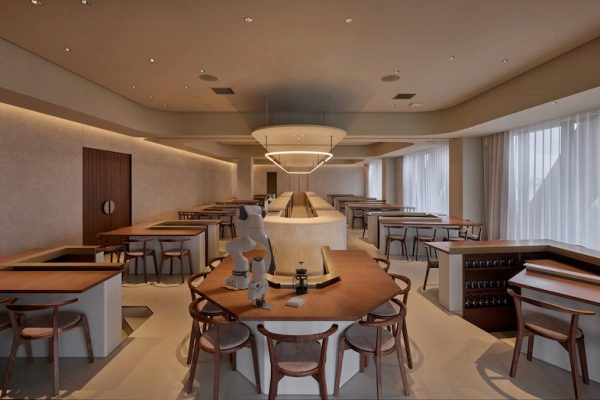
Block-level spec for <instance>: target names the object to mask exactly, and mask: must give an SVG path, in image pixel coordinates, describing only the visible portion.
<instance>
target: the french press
mask: <svg viewBox="0 0 600 400" xmlns="http://www.w3.org/2000/svg"><path fill="white" fill-rule="evenodd" d="M304 263H305V262H304V261H299V262H298V264H300V268H297V269H295V274H297V275H296V276H294V277H292V290H295V294H296V295H307V294H308V293H309V290H308V287H309V286H308V283H309V281H308V275H306V274H307V272H308V269H306V268H303V264H304ZM294 280H296V281H299V282H294ZM304 281H306V282H304ZM294 284H295V285H294ZM294 286H295V287H294Z"/></svg>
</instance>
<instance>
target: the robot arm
mask: <svg viewBox="0 0 600 400" xmlns="http://www.w3.org/2000/svg"><path fill="white" fill-rule="evenodd" d="M235 213H236V215H235V216H236V217H237V224H236V230H235V231H236V233H237V235H238V236H240V238H233V239H230V240H227V241H226V242H225V244H224V250H225V252H226V253H227V254H228V255H230V256H231V258H232V261H233V269H232V270H231V275H230V276H228V277H227V278H226V279H225V283H224V284H225V285H227V286H231V287H234V288H237V289H243V288H248V289H247V290H246V291H247V299H248V300H249V301H251V302H252V306H253V305H256V303H257V302H256V301H255V300H256V299H259V297H260V299H262V300H265V297H266V294H267V293H268V292H269V290H270V287H269V286H270V285H269V282H268V279H267V278H266V275H265V274H273V273H274V272H276V270H277V263H276V260H275V256H274V253H273V252H274V251H273V248H272V242H271V239H270V237H269V236H268V235H267V234H266V231H265V224H264V220H265V218H266V215H267V210H266V208H265V207H264V206H262V205H253V204H251V205H239V206H238V207H236V211H235ZM257 243H259V244H261V245H264V247H265V251H266V255H267V258H264V257H263V256H255V257H253V258H252V260H251V261H250V262H249V260H248V258H247V257H246V256H244V255H243V253H245V252H251V251H252V250H255V249H256V245H257ZM250 273H251V274H252V275H251V280H250V277H249V275H250Z"/></svg>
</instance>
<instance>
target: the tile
mask: <svg viewBox="0 0 600 400" xmlns="http://www.w3.org/2000/svg"><path fill="white" fill-rule="evenodd" d="M305 303H306V298H302V297H295V296H292V297H291V298H290V299H288V300H287V301H286V305H287V306H291V307H292V306H293V307H297V308H298V307H299V308H300V307H302V305H303V304H305Z"/></svg>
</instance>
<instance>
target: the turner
mask: <svg viewBox="0 0 600 400" xmlns="http://www.w3.org/2000/svg"><path fill="white" fill-rule="evenodd" d="M255 301H256V302H257V303H256V305H257V306H261V307H260V308H261V309H262V308H265V309H264V310H267V309H269V311H272V310H274V307H275V308H276V305H275V304H274V305H273V304H268V303H266V300H265V299H264V300H262V299H261V298H256V300H255ZM257 306H256V307H257ZM271 309H272V310H271Z"/></svg>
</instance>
